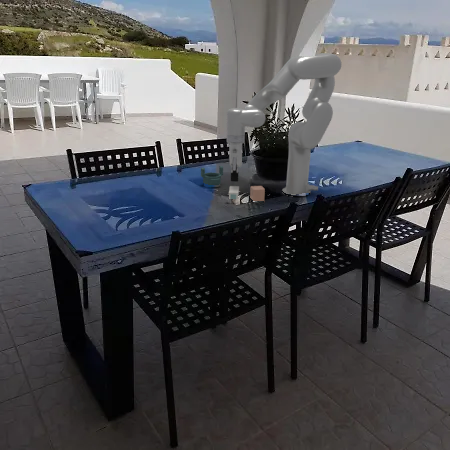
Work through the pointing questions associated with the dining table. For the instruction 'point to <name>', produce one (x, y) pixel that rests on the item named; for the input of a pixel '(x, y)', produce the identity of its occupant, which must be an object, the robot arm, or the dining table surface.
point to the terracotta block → (257, 193)
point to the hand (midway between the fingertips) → (234, 180)
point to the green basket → (212, 176)
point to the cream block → (233, 192)
